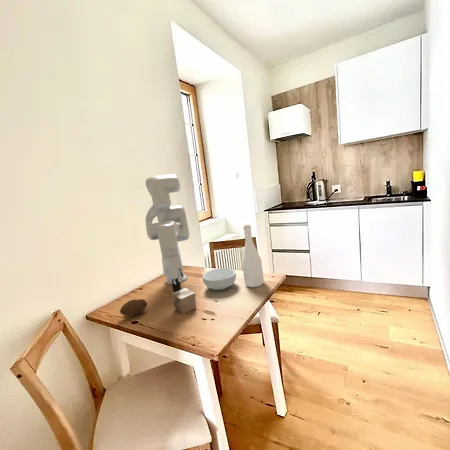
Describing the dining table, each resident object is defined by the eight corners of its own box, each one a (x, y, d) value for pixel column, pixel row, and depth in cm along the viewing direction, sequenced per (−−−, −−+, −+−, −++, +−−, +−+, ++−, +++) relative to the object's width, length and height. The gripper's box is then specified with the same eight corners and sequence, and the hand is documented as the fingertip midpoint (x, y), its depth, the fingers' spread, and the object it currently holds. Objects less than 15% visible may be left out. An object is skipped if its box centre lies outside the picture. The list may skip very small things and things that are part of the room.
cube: (173, 307, 112) (172, 293, 111) (187, 301, 117) (185, 287, 115) (182, 314, 107) (180, 299, 106) (196, 307, 112) (194, 292, 110)
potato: (151, 311, 114) (148, 296, 113) (125, 322, 107) (122, 307, 106) (144, 307, 120) (142, 293, 119) (120, 317, 112) (116, 303, 111)
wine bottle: (262, 279, 132) (255, 222, 127) (265, 286, 123) (258, 225, 118) (244, 281, 132) (236, 224, 127) (246, 289, 123) (237, 228, 118)
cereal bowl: (223, 296, 118) (221, 282, 117) (197, 291, 129) (195, 278, 128) (243, 282, 132) (241, 269, 130) (218, 278, 142) (216, 266, 141)
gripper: (154, 252, 114) (161, 291, 117) (171, 256, 103) (179, 299, 106) (169, 247, 119) (176, 285, 122) (186, 251, 108) (193, 292, 111)
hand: (177, 291), depth 114 cm, fingers closed
